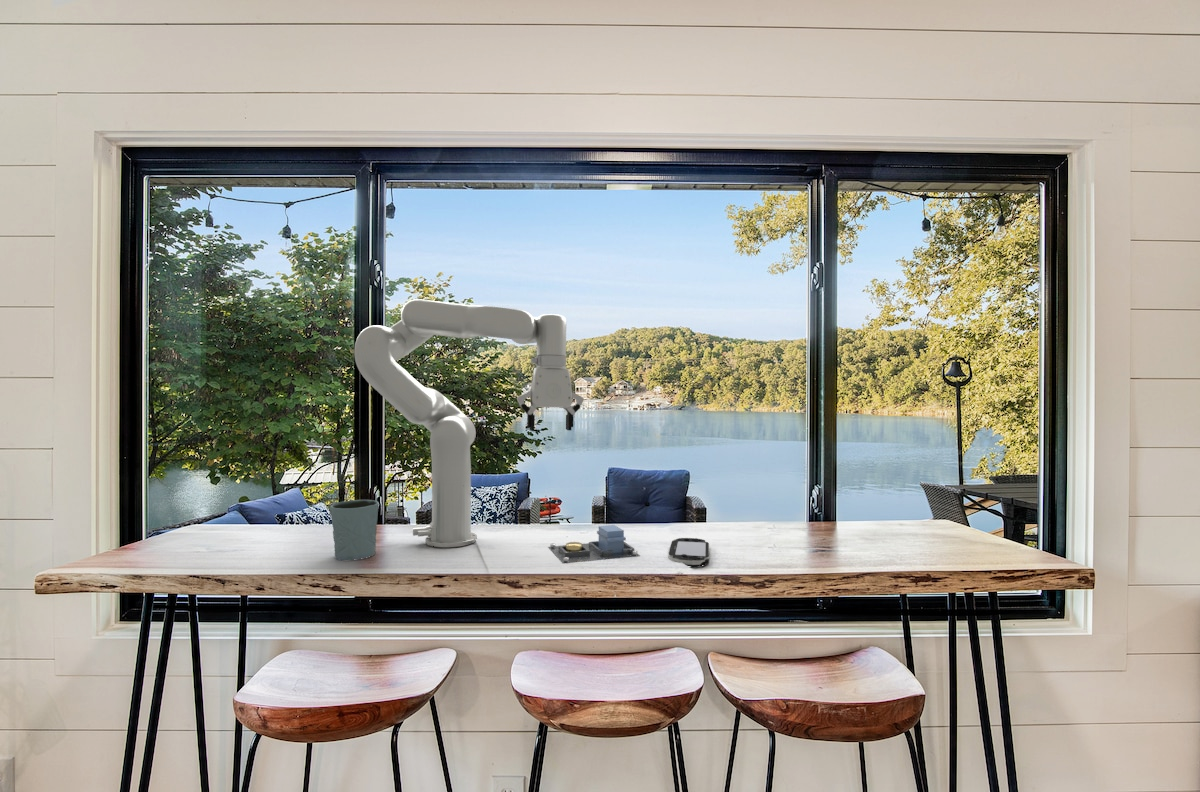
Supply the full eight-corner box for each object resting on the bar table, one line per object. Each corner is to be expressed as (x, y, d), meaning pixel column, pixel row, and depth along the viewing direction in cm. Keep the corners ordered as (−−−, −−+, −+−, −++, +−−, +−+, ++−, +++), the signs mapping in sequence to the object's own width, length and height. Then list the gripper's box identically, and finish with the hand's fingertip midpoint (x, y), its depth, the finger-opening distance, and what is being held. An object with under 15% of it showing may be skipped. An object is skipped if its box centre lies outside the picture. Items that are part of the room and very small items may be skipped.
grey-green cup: (386, 550, 134) (386, 500, 134) (364, 562, 124) (364, 508, 124) (345, 549, 135) (345, 499, 135) (320, 561, 125) (320, 507, 125)
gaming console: (672, 545, 141) (672, 535, 141) (709, 547, 140) (709, 537, 140) (666, 568, 122) (666, 556, 122) (709, 570, 121) (708, 558, 121)
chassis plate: (562, 567, 121) (562, 558, 121) (547, 551, 134) (547, 542, 134) (640, 560, 127) (640, 551, 127) (618, 544, 140) (618, 536, 140)
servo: (609, 555, 127) (609, 532, 127) (596, 545, 135) (596, 524, 135) (625, 553, 129) (625, 531, 129) (612, 544, 137) (612, 523, 137)
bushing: (566, 555, 127) (566, 546, 127) (565, 550, 131) (565, 542, 131) (582, 554, 128) (582, 545, 128) (581, 550, 131) (581, 541, 131)
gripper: (520, 361, 138) (519, 431, 138) (587, 363, 144) (587, 430, 144) (514, 363, 145) (514, 429, 145) (579, 365, 151) (578, 429, 151)
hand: (550, 430), depth 145 cm, fingers open, 9 cm apart
